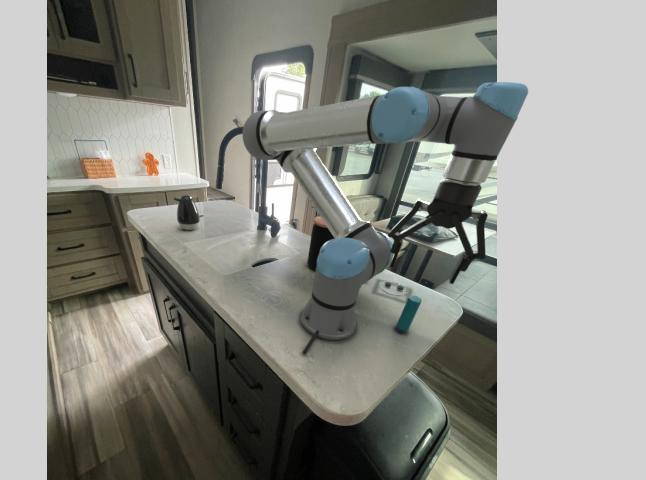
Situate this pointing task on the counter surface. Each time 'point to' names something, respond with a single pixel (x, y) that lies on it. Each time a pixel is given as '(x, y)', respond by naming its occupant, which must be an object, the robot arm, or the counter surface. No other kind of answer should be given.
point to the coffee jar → (318, 241)
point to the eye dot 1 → (388, 284)
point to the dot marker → (408, 314)
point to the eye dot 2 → (400, 287)
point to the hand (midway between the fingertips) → (420, 273)
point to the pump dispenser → (187, 213)
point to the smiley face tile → (392, 294)
